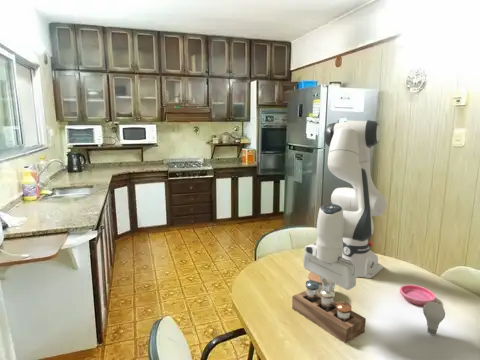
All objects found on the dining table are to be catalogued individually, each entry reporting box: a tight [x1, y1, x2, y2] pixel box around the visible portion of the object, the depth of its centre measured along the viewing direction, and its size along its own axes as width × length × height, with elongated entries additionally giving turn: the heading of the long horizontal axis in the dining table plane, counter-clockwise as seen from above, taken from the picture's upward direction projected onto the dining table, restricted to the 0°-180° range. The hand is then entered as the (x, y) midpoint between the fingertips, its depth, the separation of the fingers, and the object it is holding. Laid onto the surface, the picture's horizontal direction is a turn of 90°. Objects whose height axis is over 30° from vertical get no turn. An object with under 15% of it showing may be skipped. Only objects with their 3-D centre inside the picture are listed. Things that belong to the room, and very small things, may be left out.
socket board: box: [291, 289, 367, 345], centre depth 112 cm, size 10×24×5 cm, turn 34°
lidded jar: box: [307, 271, 336, 293], centre depth 129 cm, size 11×11×9 cm
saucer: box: [399, 284, 437, 307], centre depth 125 cm, size 12×12×3 cm
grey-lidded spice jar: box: [305, 279, 319, 302], centre depth 117 cm, size 5×5×6 cm
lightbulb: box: [422, 301, 446, 336], centre depth 103 cm, size 6×6×11 cm
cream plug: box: [320, 289, 335, 311], centre depth 111 cm, size 5×5×6 cm
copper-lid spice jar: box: [336, 301, 352, 322], centre depth 106 cm, size 5×5×6 cm
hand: (327, 290), depth 111 cm, fingers closed
